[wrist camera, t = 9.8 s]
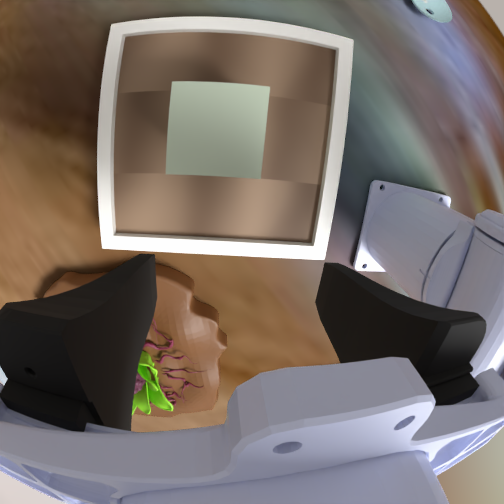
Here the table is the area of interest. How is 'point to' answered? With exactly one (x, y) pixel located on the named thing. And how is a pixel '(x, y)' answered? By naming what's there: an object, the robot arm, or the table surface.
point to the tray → (211, 243)
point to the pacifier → (434, 9)
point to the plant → (172, 347)
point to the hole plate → (217, 187)
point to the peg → (216, 129)
